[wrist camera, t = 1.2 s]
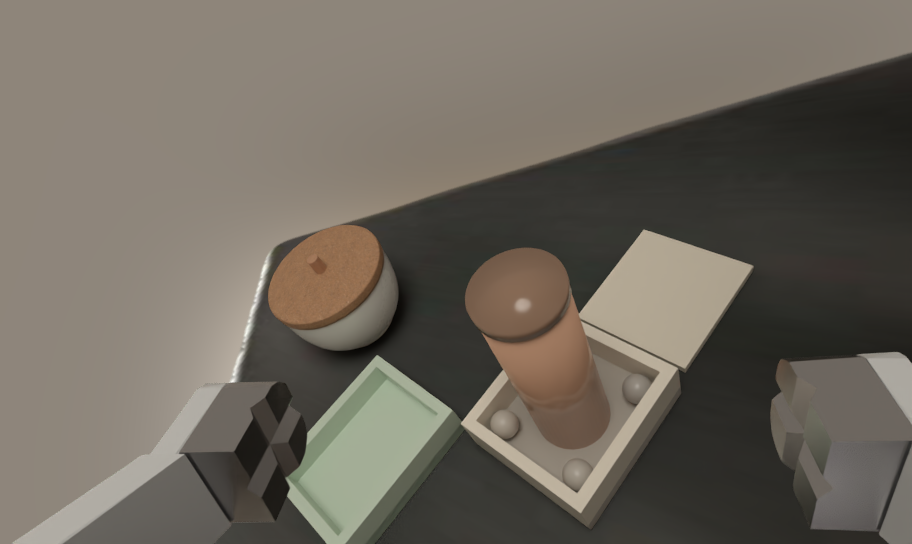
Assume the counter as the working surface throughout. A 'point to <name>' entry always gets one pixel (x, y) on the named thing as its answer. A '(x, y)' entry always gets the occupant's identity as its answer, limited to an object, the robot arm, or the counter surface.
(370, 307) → the lidded jar
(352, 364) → the counter surface
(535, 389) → the terracotta canister
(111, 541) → the robot arm
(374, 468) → the sage tray
